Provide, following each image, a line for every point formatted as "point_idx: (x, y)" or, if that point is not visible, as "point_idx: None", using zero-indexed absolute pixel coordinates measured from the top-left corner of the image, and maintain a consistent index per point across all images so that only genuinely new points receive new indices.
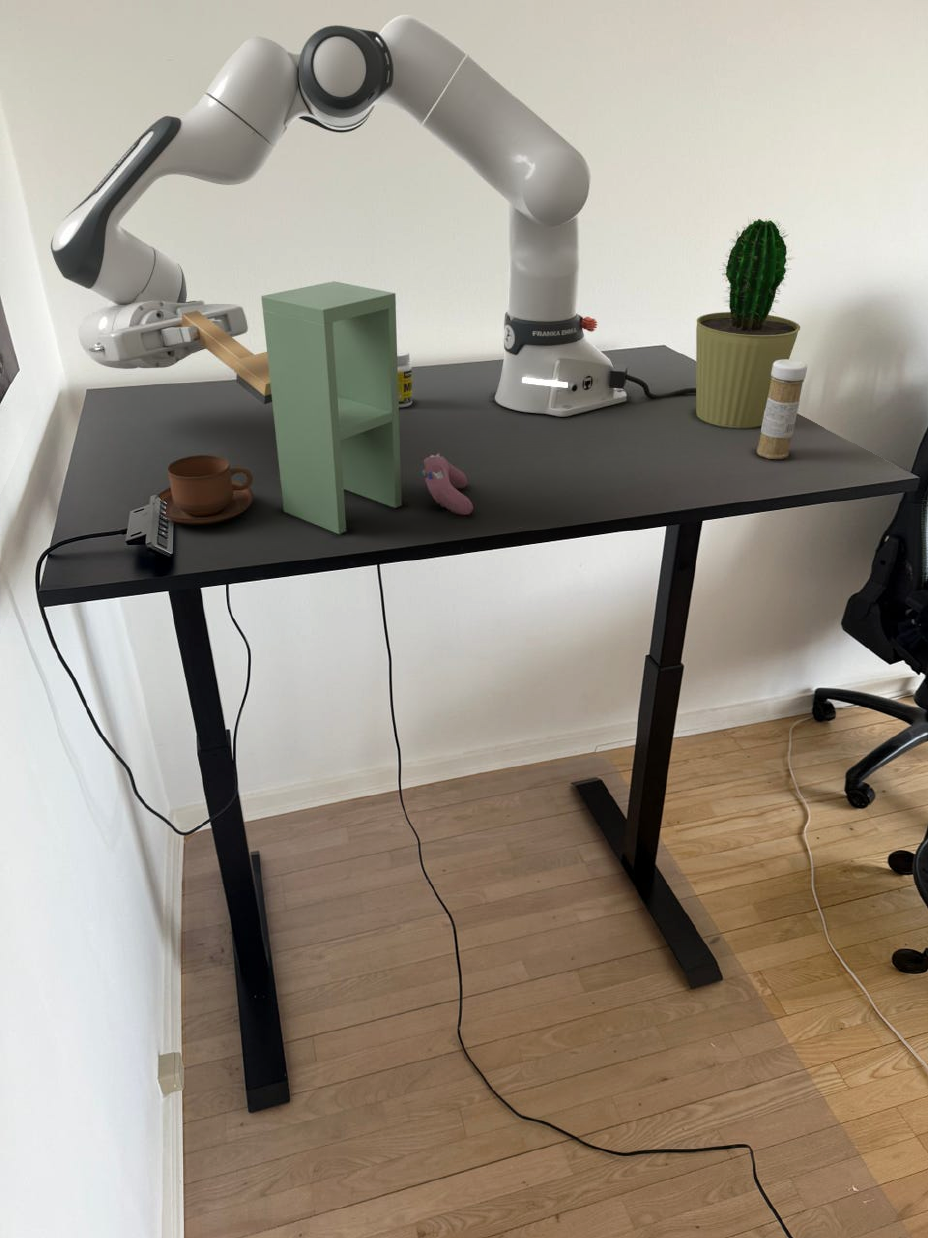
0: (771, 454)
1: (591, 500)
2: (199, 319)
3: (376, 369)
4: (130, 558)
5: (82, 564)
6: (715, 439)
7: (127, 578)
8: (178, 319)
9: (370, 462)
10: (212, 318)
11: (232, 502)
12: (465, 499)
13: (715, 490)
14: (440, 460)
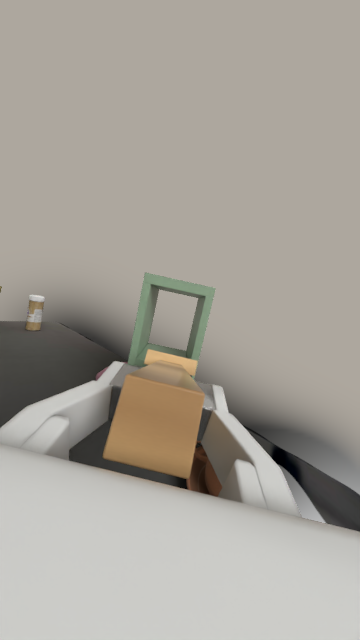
0: (39, 328)
1: (96, 354)
2: (166, 375)
3: (150, 323)
4: (306, 486)
5: (352, 515)
6: (7, 333)
7: (304, 464)
8: (173, 502)
9: None
10: (22, 414)
11: (202, 481)
12: None
13: (75, 339)
14: (124, 362)
